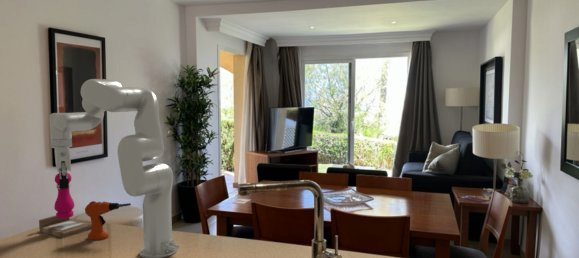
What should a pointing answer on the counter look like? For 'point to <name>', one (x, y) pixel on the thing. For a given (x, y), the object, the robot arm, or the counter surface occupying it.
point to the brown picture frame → (62, 226)
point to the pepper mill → (63, 200)
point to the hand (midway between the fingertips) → (63, 186)
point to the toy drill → (99, 217)
